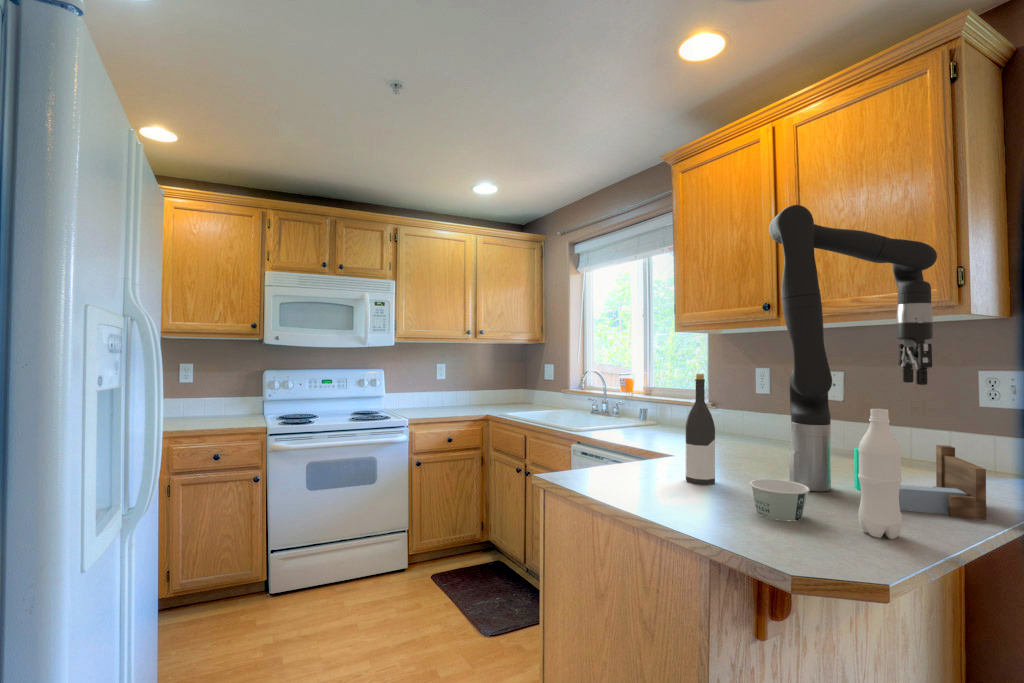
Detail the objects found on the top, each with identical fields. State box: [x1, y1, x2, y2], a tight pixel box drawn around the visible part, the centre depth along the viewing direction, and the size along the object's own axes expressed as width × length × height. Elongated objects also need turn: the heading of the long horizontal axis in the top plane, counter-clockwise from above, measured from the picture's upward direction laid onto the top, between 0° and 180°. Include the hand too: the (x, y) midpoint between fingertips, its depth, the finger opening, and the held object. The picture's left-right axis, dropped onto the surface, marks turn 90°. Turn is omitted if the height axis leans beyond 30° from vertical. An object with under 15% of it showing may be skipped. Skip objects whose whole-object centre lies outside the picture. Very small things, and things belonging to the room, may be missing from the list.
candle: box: [853, 447, 861, 491], centre depth 140 cm, size 6×6×12 cm
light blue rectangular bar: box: [899, 484, 968, 515], centre depth 122 cm, size 14×4×5 cm, turn 73°
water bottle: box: [857, 408, 903, 540], centre depth 106 cm, size 7×7×25 cm
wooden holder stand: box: [932, 444, 987, 521], centre depth 125 cm, size 7×18×13 cm, turn 162°
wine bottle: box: [685, 373, 716, 486], centre depth 148 cm, size 8×8×30 cm
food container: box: [749, 478, 811, 521], centre depth 119 cm, size 12×12×6 cm
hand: (914, 383), depth 138 cm, fingers open, 8 cm apart
